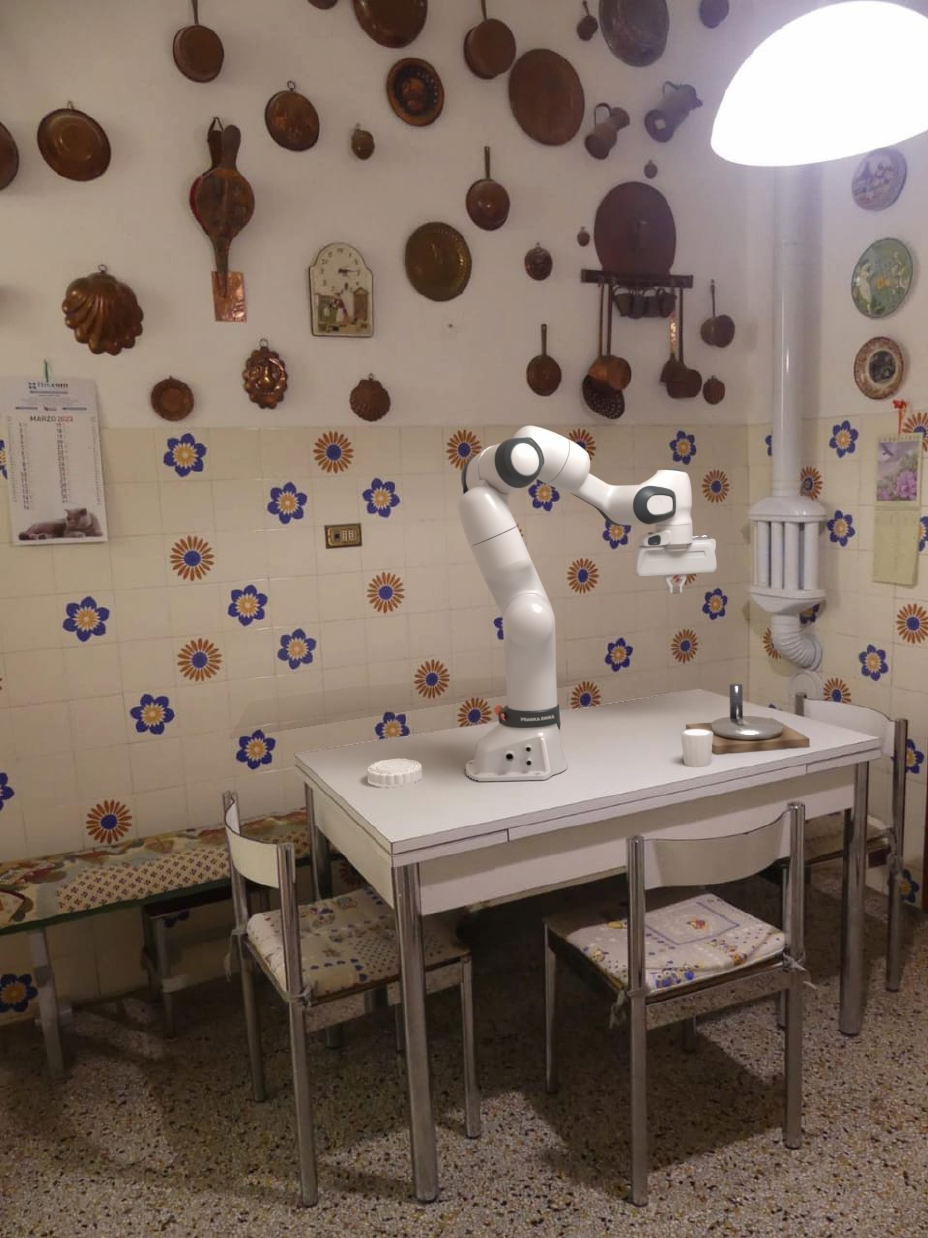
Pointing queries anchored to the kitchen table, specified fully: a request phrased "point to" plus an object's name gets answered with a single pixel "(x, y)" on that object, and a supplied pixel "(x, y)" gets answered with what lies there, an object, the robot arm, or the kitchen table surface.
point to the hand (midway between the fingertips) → (675, 593)
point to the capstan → (744, 721)
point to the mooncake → (394, 771)
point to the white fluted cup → (697, 747)
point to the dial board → (754, 741)
